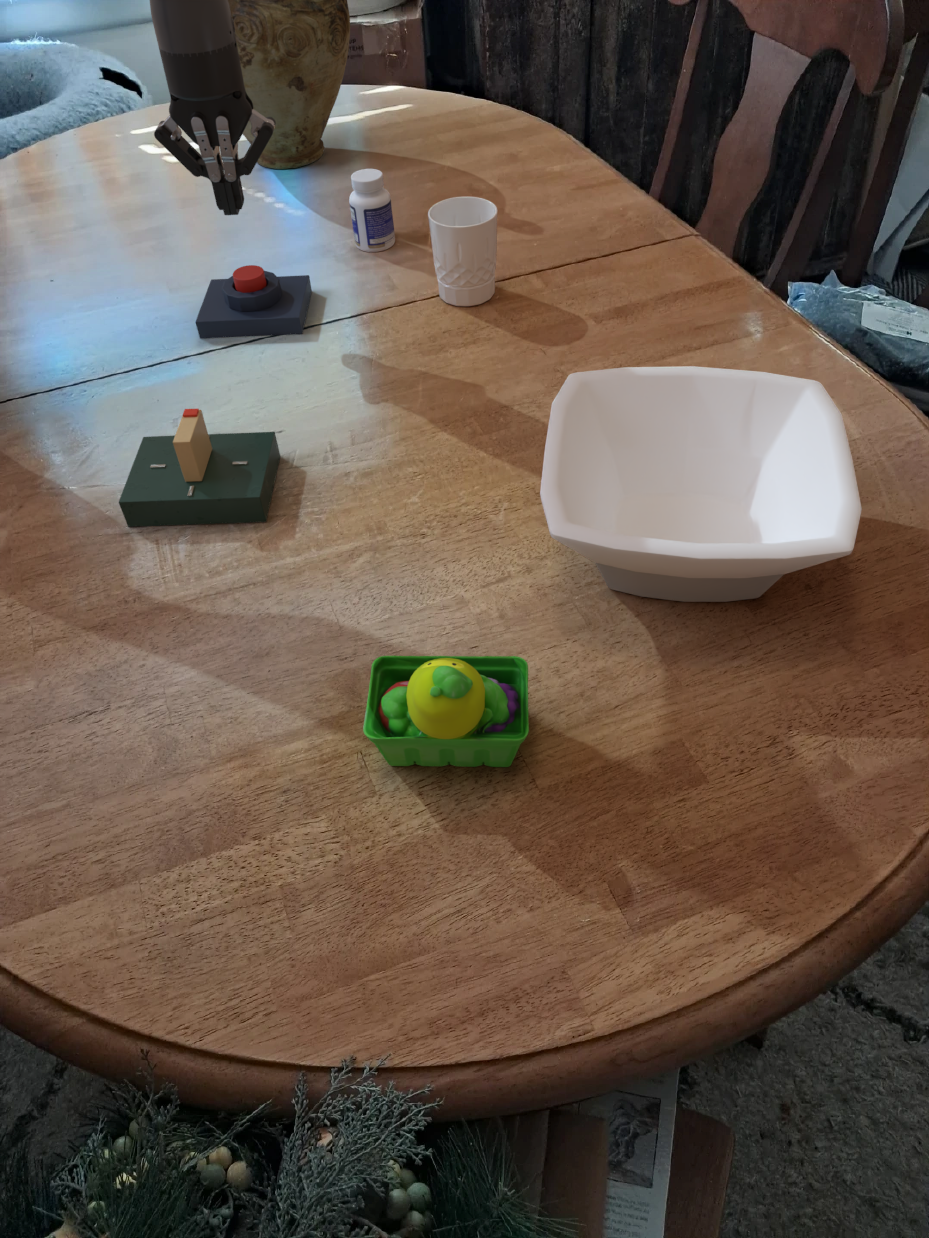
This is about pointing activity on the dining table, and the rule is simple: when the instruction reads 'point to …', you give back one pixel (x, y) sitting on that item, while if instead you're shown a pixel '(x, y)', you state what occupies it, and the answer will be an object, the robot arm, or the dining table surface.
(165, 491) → the panel
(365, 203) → the pill bottle
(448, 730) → the fruit basket
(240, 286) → the button
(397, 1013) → the dining table surface
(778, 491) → the bowl
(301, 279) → the button box
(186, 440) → the knob
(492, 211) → the white cup
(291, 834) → the dining table surface
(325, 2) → the vase
